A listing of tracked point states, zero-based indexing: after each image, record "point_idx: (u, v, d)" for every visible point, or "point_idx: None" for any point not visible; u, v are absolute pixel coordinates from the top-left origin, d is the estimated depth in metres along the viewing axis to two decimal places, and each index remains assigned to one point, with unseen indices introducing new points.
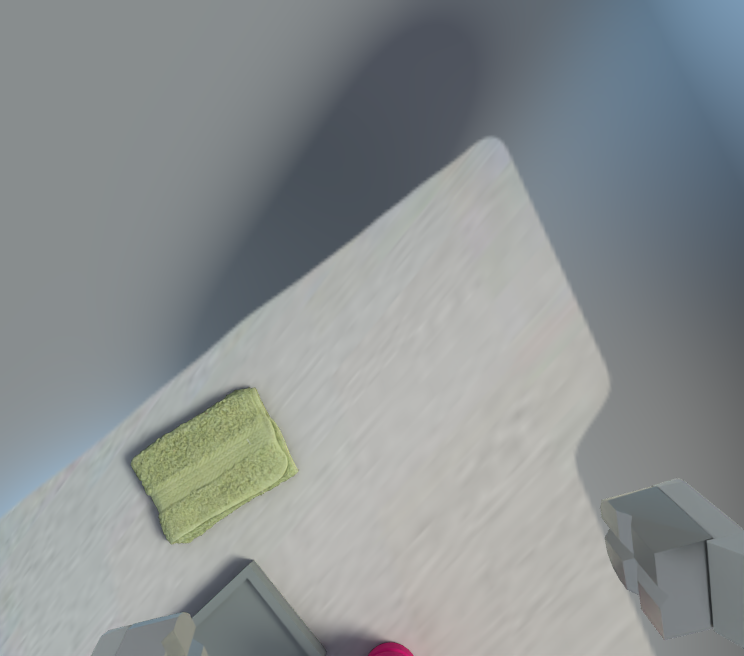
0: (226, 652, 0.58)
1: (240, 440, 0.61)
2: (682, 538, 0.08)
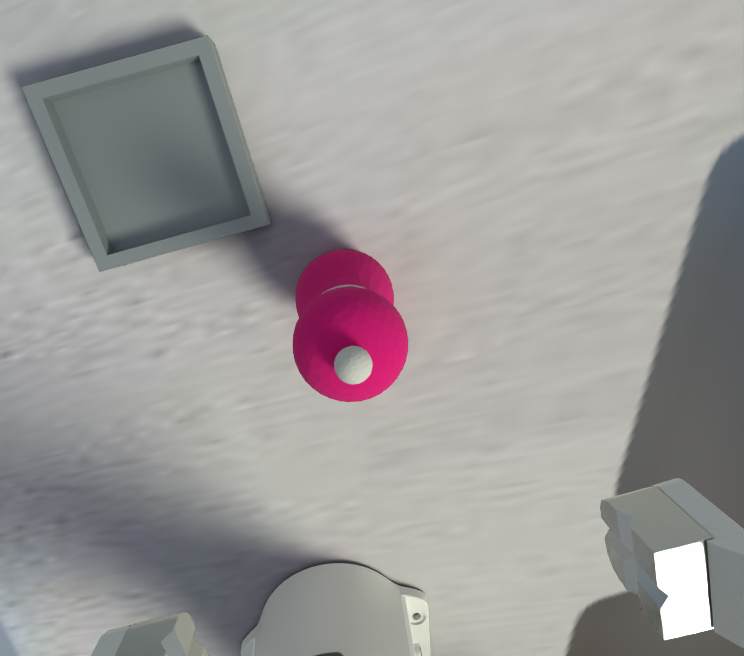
0: (128, 151, 0.37)
1: None
2: (682, 538, 0.08)
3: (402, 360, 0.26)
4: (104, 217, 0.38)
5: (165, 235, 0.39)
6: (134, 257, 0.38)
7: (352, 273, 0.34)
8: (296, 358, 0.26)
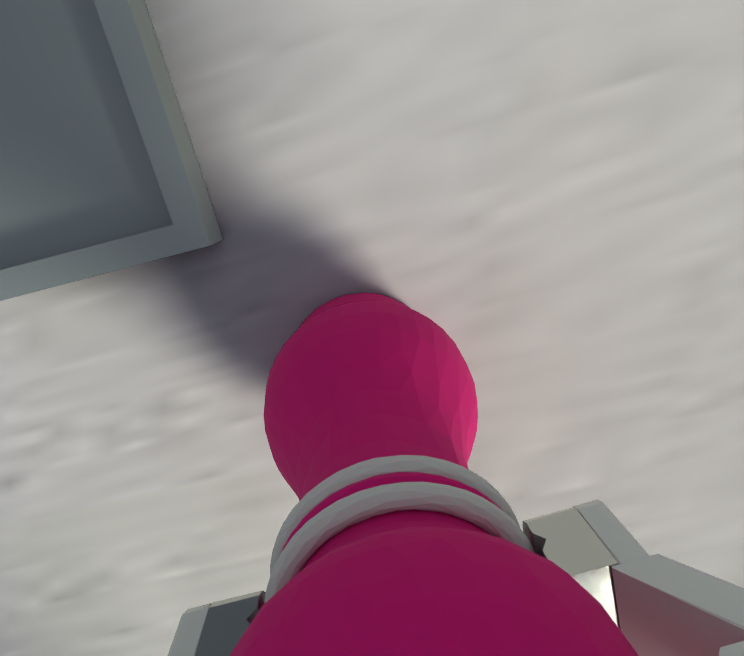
0: None
1: None
2: (589, 563, 0.08)
3: None
4: None
5: (1, 263, 0.19)
6: None
7: (396, 374, 0.14)
8: None
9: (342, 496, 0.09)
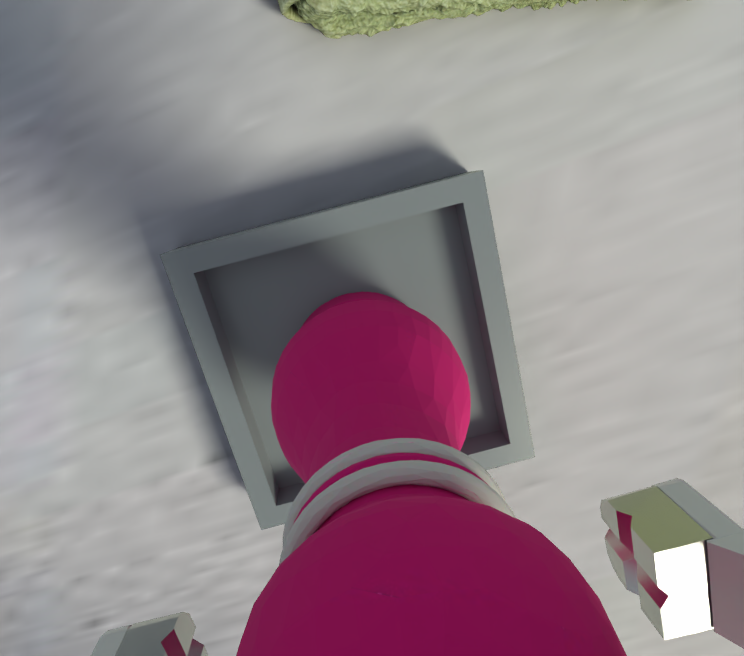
0: None
1: None
2: (682, 538, 0.08)
3: None
4: (268, 438, 0.24)
5: None
6: None
7: (394, 367, 0.15)
8: None
9: (347, 474, 0.10)
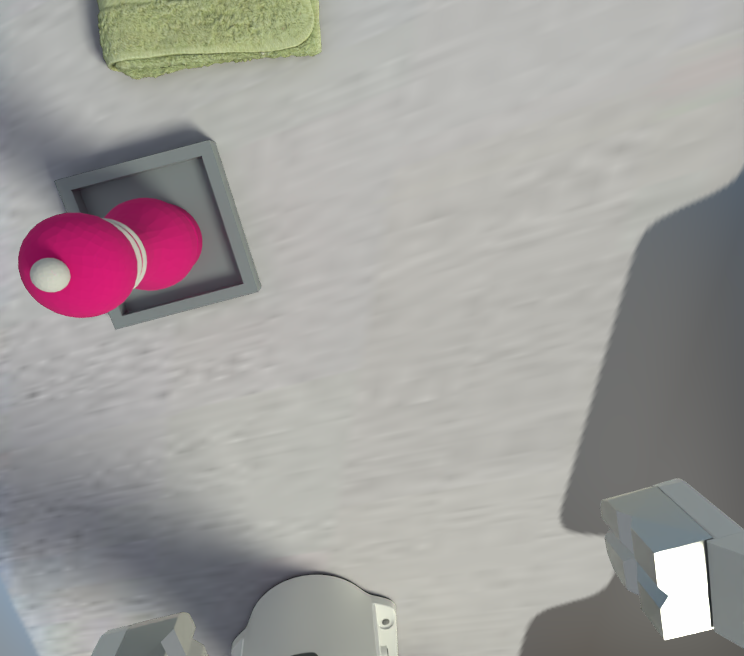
0: None
1: None
2: (682, 538, 0.08)
3: (116, 277, 0.28)
4: None
5: (171, 298, 0.46)
6: (145, 317, 0.45)
7: (134, 215, 0.37)
8: None
9: None
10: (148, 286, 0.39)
